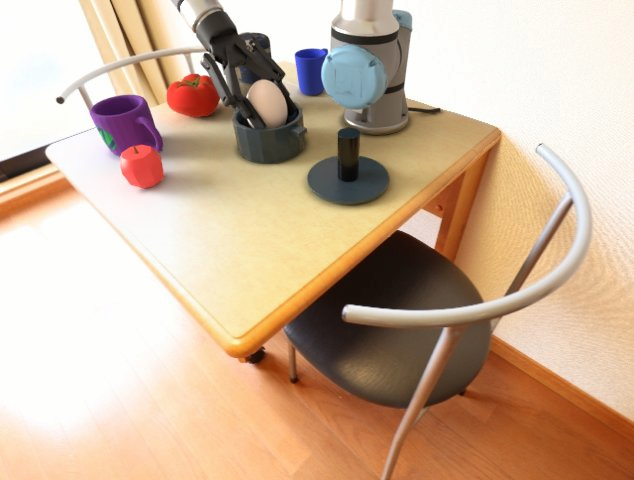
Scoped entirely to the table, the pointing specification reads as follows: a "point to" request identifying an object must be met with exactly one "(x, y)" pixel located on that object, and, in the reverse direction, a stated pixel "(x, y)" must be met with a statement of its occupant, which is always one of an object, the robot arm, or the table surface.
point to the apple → (142, 166)
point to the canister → (243, 74)
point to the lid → (348, 173)
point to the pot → (270, 139)
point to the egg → (268, 103)
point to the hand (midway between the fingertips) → (278, 120)
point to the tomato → (193, 96)
